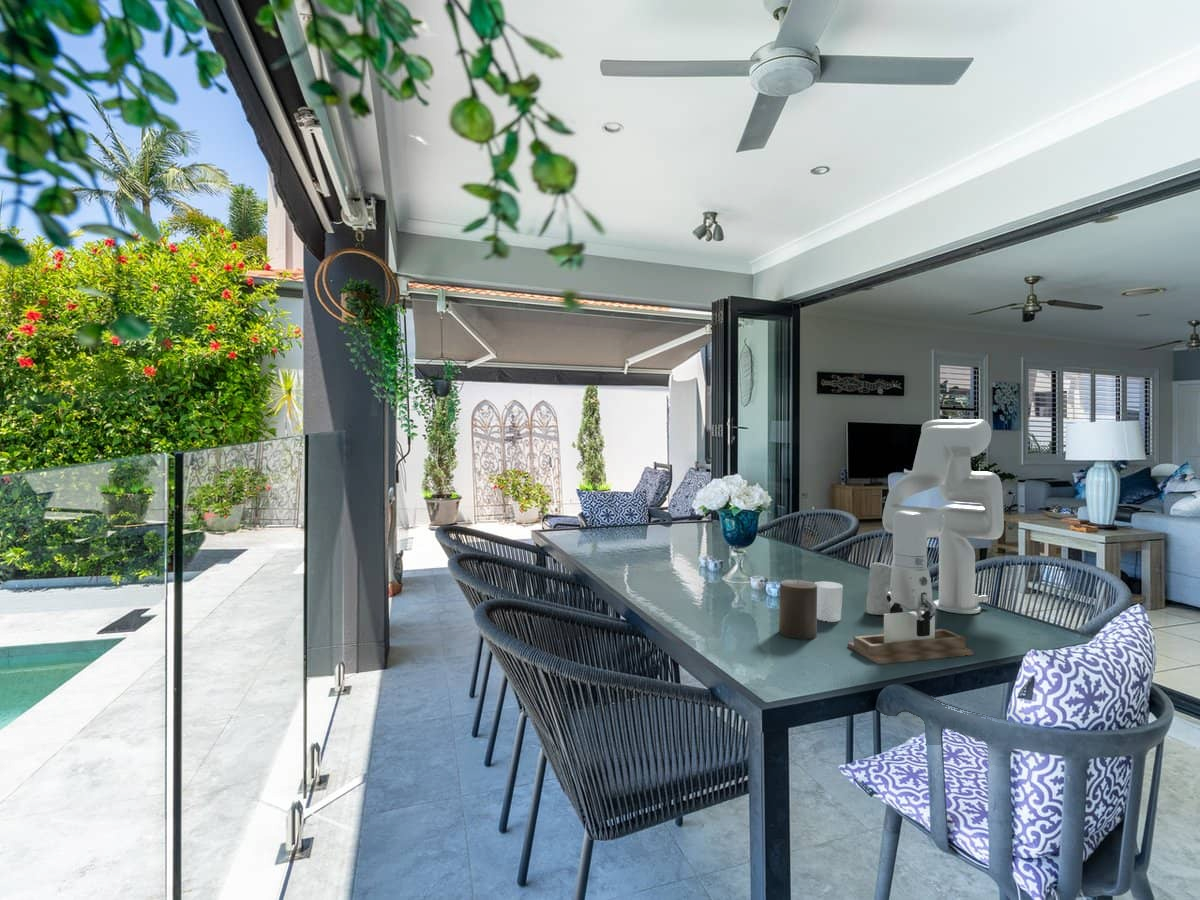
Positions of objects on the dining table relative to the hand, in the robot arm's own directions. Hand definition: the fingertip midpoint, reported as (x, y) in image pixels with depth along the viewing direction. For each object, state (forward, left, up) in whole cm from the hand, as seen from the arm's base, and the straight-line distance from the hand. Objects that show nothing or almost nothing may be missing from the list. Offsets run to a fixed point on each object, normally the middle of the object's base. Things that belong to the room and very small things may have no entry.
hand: (909, 629), depth 154 cm
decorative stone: (-14, -28, -6) cm, 32 cm away
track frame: (0, 0, -5) cm, 5 cm away
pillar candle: (+20, -18, -6) cm, 28 cm away
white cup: (+5, -28, -6) cm, 29 cm away
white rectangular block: (0, 0, -4) cm, 4 cm away
